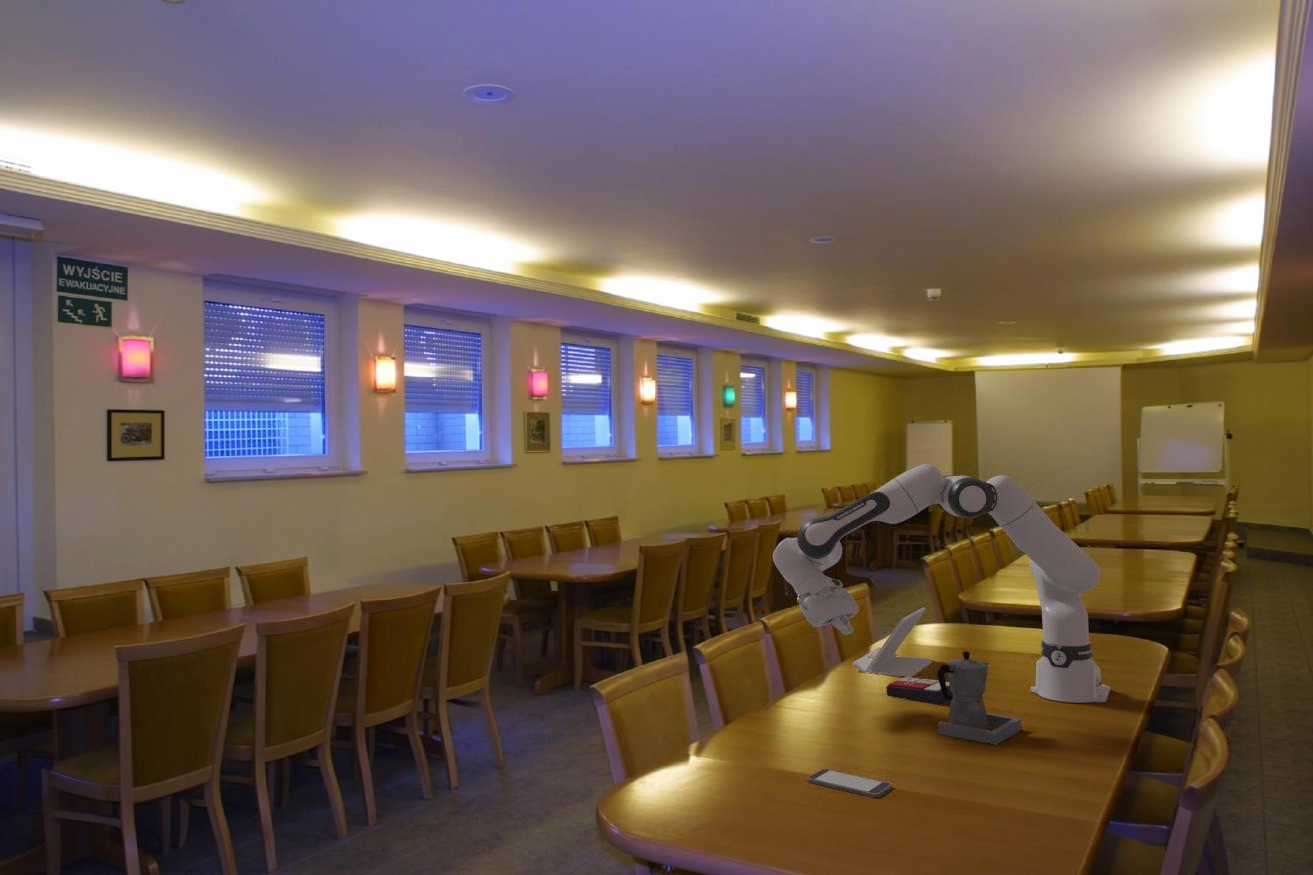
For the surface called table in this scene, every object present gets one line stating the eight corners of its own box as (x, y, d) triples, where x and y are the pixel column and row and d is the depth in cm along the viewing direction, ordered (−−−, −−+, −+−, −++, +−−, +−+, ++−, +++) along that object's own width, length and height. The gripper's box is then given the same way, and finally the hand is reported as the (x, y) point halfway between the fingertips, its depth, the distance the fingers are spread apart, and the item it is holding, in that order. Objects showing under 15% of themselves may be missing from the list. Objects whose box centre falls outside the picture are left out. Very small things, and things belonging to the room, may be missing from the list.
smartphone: (876, 794, 169) (806, 778, 178) (877, 800, 169) (806, 783, 178) (893, 783, 175) (824, 768, 184) (893, 788, 175) (824, 773, 184)
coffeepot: (974, 719, 218) (972, 644, 219) (1004, 729, 210) (1002, 651, 210) (925, 728, 212) (923, 651, 212) (954, 739, 203) (952, 659, 204)
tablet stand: (934, 661, 283) (932, 607, 283) (912, 678, 261) (910, 619, 262) (877, 656, 292) (876, 603, 293) (852, 672, 271) (850, 615, 271)
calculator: (904, 675, 251) (956, 680, 240) (905, 691, 250) (957, 697, 240) (885, 683, 242) (938, 688, 232) (886, 699, 242) (939, 705, 232)
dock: (965, 719, 219) (965, 708, 219) (1021, 729, 210) (1021, 718, 210) (938, 733, 208) (937, 722, 208) (996, 745, 199) (995, 733, 199)
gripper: (801, 587, 229) (835, 631, 223) (843, 579, 245) (876, 619, 238) (787, 603, 232) (820, 646, 226) (829, 594, 248) (861, 634, 241)
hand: (849, 632), depth 232 cm, fingers closed
